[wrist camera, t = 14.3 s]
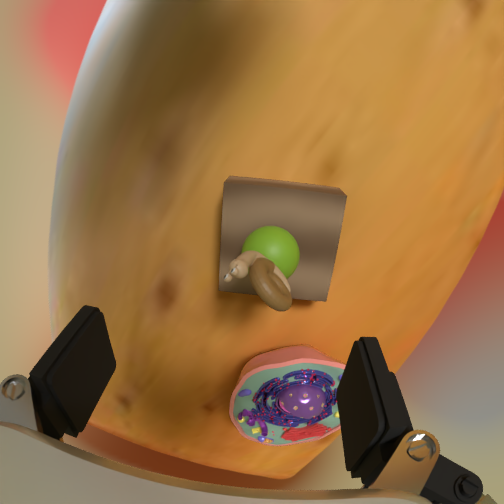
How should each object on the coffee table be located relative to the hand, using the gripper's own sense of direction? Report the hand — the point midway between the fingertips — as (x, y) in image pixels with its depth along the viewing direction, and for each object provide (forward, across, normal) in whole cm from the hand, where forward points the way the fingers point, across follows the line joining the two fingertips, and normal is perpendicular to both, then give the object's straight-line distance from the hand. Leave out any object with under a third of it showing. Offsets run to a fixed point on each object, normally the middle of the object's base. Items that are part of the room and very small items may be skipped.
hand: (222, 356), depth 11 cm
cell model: (+25, -7, +26) cm, 36 cm away
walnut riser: (+25, -3, +5) cm, 25 cm away
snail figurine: (+21, -1, +4) cm, 22 cm away
